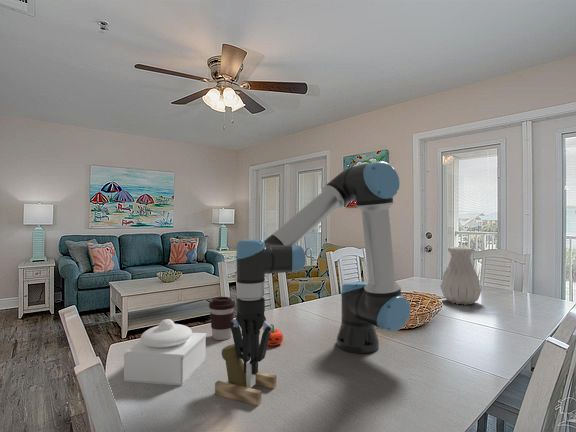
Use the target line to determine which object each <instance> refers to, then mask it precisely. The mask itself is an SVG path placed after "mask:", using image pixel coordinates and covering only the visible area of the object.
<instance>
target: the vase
mask: <svg viewBox="0 0 576 432" xmlns="http://www.w3.org/2000/svg"><path fill="white" fill-rule="evenodd" d="M447 250H448V252H449V253H450V259H449V263H448V265H447V266H446V267H445V271H444V272H443V275H442V278H441V279H442V280H441V282H440V289H441V293H442V296H443V297H444V299H446V300H447V301H448V302H449V301H450V302H449V303H451V302H452V303H451V304H454V303H456V304H455V305H458V304H462V305H461V306H468V305H467V304H471V305H472V304H473V303H476V302H478V300H479V298H480V296H481V292H482V288H481V284H480V279H479V276H478V274H477V272H476V271H477V270H476V269H475V268H474V265H473V264H472V260H471V255H472V253H473V252H474V248H473V247H464V246H449V247H447ZM463 304H464V305H463Z"/></svg>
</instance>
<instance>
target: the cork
mask: <svg viewBox="0 0 576 432" xmlns="http://www.w3.org/2000/svg"><path fill="white" fill-rule="evenodd" d="M221 357H222V359H223V360H225V367H226V373H227V381H228V382H227V383H230V384H234V385H239V386H243V387H246V373H244V361H243V359H241V358H238V357H237V354H236V349H235V344H234V343H232V344H229V345H227V346H224V347H223V349H221Z"/></svg>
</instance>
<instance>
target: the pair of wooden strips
mask: <svg viewBox="0 0 576 432" xmlns="http://www.w3.org/2000/svg"><path fill="white" fill-rule="evenodd" d="M255 376H256V384H255V385H254V386H260V387H264V388H269V389H272V390H274V389H276V387H277V375H276V374H273V373H272V374H270V373H266V372H261V371H258V373H257V374H255ZM214 395H215V396H219V397H222V398H223V397H224V398H226V399H231V400H234V401H239V402H243V403H247V404H250V405H254V406H260V405H261V404H262V390H259V389H256V388H253V387H251V388H247V387H243V386H239V385H234V384H230V383H229V382H227V381H226V382H225V381H222V380H217V381H216V382H215V383H214Z"/></svg>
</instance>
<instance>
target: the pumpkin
mask: <svg viewBox="0 0 576 432" xmlns="http://www.w3.org/2000/svg"><path fill="white" fill-rule="evenodd" d="M283 342H284V334H283V333H282V331H281V330H280V329H278V328H277V329H276V328H275V327H274V328H273V330H272V331H271V333H270V337H269V341H268V346H269V347H270V346H271V347H273V346H274V347H275V346H278V345H280V344H282V343H283Z"/></svg>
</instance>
